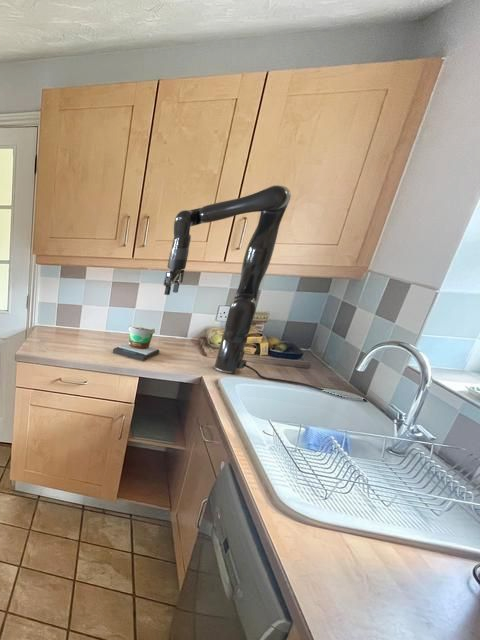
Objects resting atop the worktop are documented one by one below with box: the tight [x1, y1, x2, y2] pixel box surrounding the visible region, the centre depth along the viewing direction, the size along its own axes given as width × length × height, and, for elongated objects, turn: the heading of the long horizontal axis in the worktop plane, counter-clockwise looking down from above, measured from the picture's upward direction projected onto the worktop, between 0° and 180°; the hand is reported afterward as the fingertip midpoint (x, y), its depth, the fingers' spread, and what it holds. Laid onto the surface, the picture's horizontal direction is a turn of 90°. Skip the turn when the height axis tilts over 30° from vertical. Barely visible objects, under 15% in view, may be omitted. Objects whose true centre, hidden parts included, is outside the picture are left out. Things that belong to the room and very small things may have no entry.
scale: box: [112, 341, 160, 362], centre depth 206 cm, size 16×16×3 cm
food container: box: [128, 325, 156, 349], centre depth 204 cm, size 12×6×10 cm, turn 62°
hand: (170, 293), depth 194 cm, fingers open, 8 cm apart
